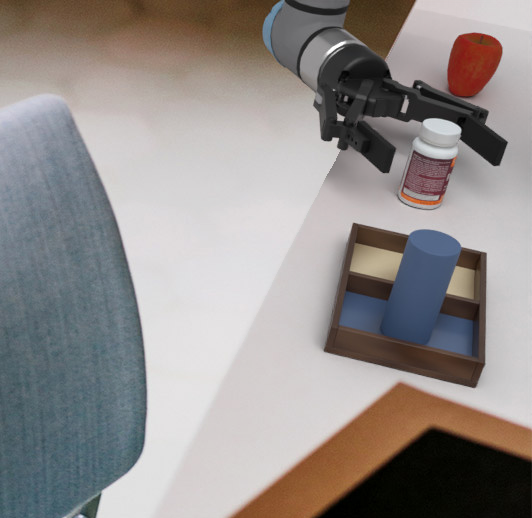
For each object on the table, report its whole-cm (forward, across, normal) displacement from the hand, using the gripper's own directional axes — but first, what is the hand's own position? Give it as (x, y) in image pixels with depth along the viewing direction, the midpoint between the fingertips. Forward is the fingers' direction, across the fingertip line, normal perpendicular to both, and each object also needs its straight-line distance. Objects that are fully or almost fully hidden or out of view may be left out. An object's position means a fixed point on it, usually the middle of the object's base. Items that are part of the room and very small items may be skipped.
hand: (446, 157), depth 122 cm
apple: (-28, -23, -6) cm, 36 cm away
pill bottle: (-2, 0, -6) cm, 6 cm away
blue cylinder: (+22, +16, -5) cm, 28 cm away
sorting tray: (+18, +14, -6) cm, 23 cm away
